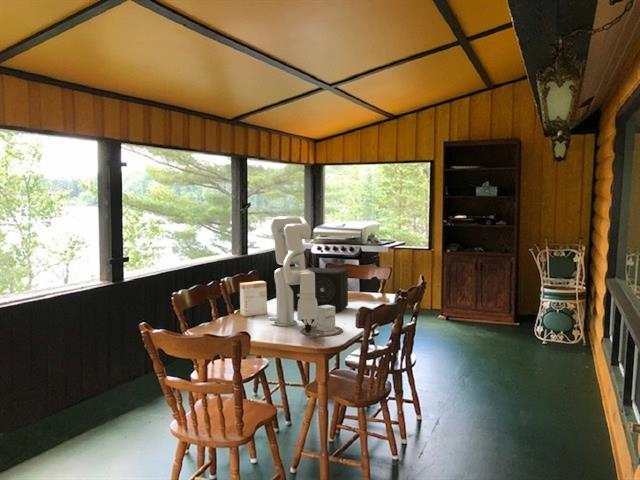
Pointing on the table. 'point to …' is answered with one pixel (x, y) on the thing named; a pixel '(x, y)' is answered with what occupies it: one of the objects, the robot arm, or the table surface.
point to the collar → (313, 334)
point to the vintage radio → (327, 288)
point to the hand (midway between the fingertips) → (308, 332)
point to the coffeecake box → (253, 298)
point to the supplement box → (326, 318)
